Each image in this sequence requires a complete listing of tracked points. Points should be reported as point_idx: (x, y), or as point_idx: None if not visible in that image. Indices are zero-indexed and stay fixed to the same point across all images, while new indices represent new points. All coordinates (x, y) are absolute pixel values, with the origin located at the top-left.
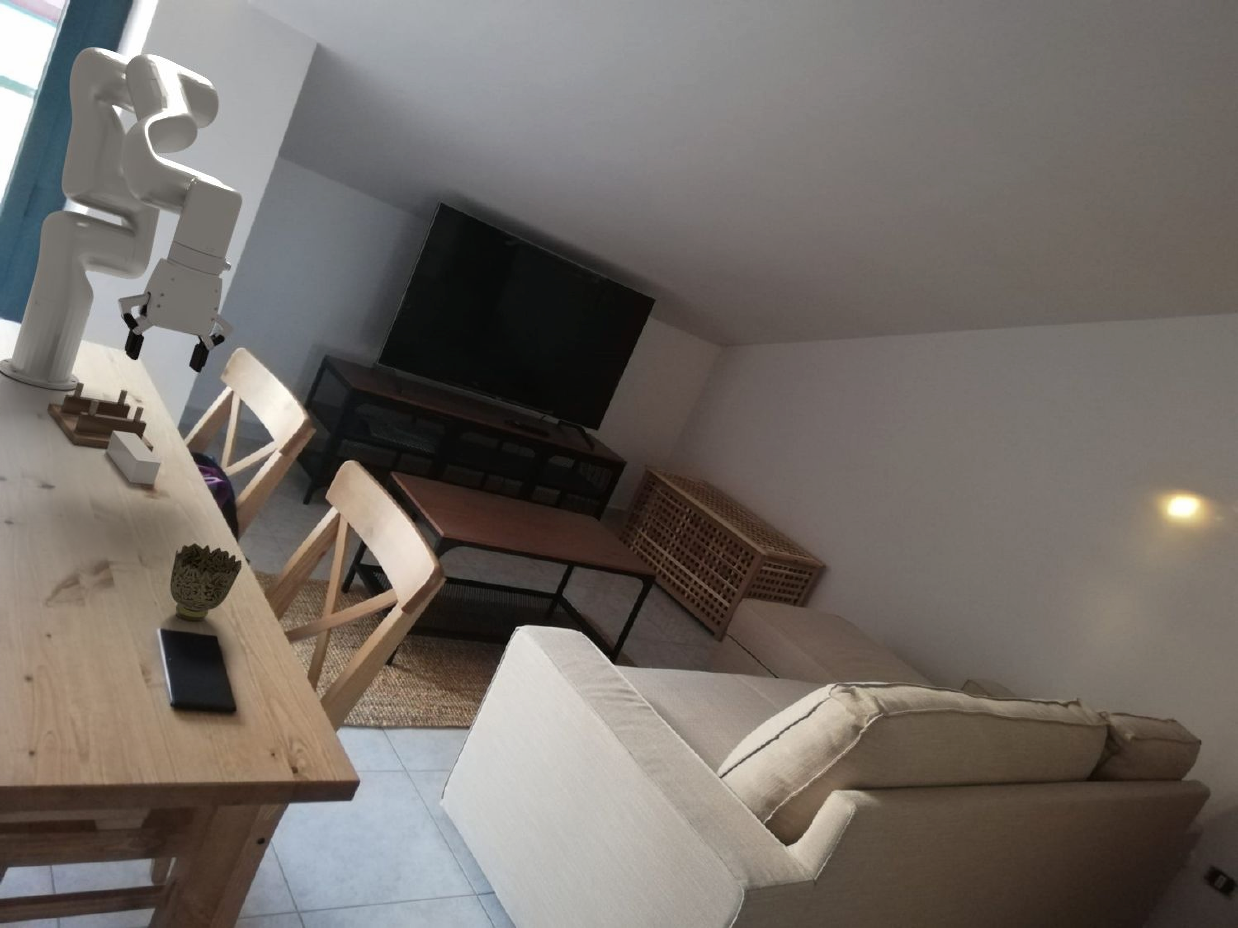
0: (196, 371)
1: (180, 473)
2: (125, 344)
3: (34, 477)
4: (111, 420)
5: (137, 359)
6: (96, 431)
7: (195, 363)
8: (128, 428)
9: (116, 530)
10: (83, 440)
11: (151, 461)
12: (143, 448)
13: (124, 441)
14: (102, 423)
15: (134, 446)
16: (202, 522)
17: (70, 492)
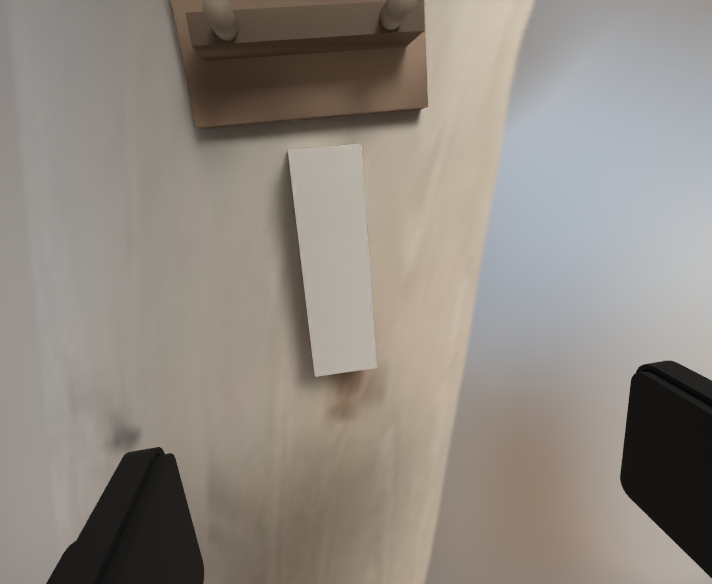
0: (627, 476)
1: (457, 242)
2: (55, 568)
3: (96, 402)
4: (299, 39)
5: (203, 573)
6: (261, 55)
7: (665, 487)
8: (361, 42)
9: (240, 573)
10: (220, 125)
11: (353, 368)
12: (354, 277)
13: (307, 241)
14: (271, 47)
15: (330, 272)
16: (413, 494)
17: (170, 450)
